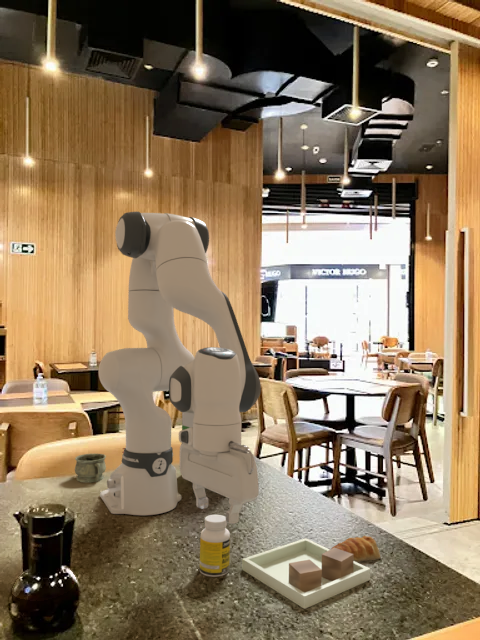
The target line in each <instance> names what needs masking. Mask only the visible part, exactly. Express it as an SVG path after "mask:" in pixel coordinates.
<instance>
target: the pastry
mask: <svg viewBox="0 0 480 640" xmlns="http://www.w3.org/2000/svg"><path fill="white" fill-rule="evenodd" d="M332 548H337V549H340V550H343V551H346V552H349V553H351V554H354V559H353V561H355V562H357V563H360V562H366V561H374V560H379V559H381V552H380V549H379V547H378V545H377V541H376V540H375V539H374V538H373V537H372V536H367V535H363V536H362V537H360V536H359V537H357V536H355V537H349V538H346V539H345V540H344V541H342V542H339V543H337V544H336V545H334V546H332V547H331V548H330V549H332Z"/></svg>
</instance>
